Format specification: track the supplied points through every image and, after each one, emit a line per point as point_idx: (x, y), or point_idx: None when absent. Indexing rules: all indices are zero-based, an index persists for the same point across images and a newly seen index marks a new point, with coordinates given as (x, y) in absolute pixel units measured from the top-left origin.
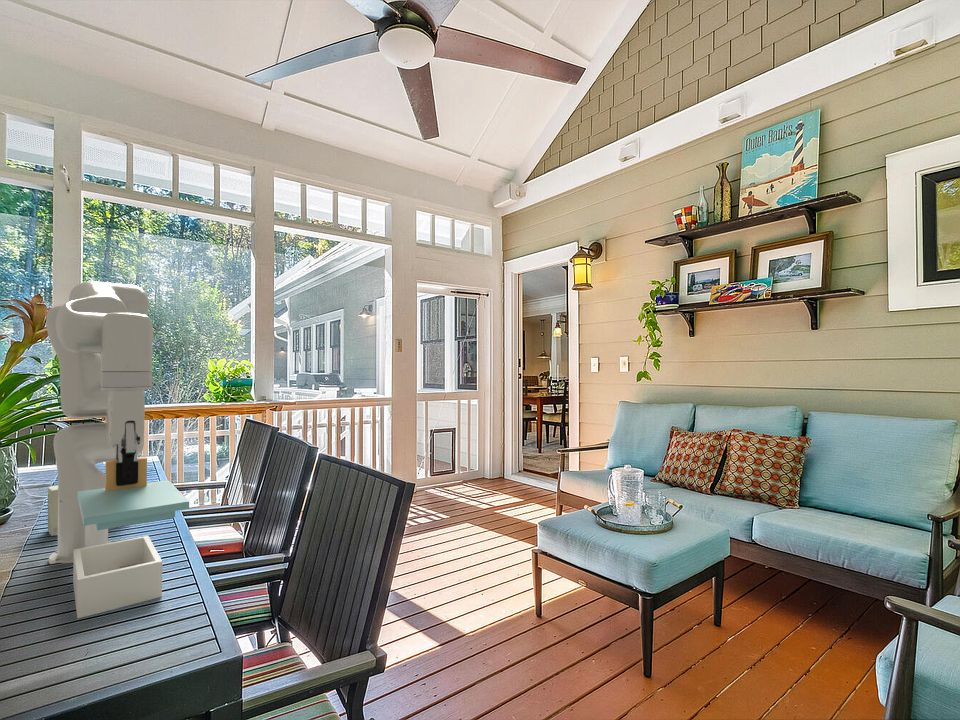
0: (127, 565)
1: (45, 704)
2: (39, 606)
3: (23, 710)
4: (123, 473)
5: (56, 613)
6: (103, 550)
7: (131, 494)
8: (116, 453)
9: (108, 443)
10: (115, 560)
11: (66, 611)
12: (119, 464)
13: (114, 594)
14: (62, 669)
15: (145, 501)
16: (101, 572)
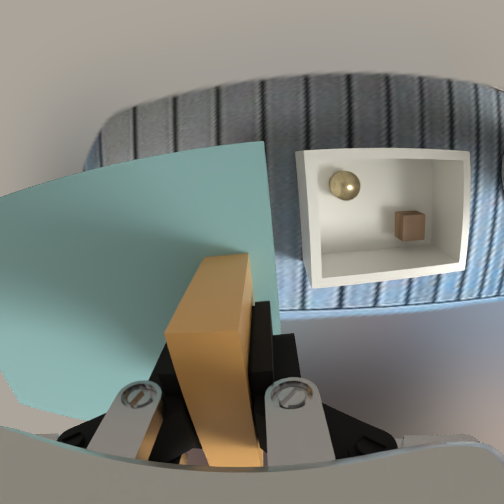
0: (424, 226)
1: (101, 145)
2: (392, 106)
3: (102, 127)
4: (160, 362)
5: (353, 125)
6: (458, 196)
7: (100, 332)
8: (269, 420)
9: (41, 452)
10: (445, 210)
11: (352, 137)
12: (165, 381)
13: (302, 203)
14: (164, 147)
15: (22, 345)
16: (437, 187)
